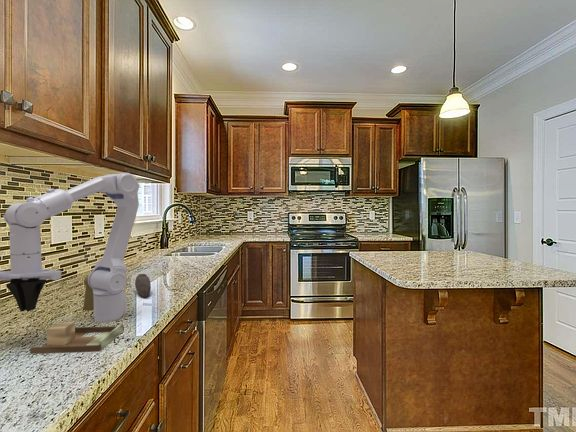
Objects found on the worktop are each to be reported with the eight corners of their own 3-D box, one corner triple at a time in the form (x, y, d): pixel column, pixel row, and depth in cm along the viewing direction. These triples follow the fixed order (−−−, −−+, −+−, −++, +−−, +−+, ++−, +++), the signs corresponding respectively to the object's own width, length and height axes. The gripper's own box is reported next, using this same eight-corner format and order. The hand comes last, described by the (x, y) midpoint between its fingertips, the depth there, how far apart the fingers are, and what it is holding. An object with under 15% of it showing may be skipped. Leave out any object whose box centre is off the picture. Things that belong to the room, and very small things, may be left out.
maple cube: (58, 338, 79) (57, 322, 79) (75, 338, 80) (74, 322, 80) (47, 345, 76) (46, 328, 75) (65, 345, 76) (64, 328, 76)
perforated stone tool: (152, 298, 119) (152, 279, 119) (137, 300, 117) (136, 281, 117) (149, 289, 132) (148, 272, 132) (134, 290, 130) (134, 273, 130)
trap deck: (64, 338, 83) (64, 324, 83) (124, 336, 84) (123, 323, 84) (30, 360, 72) (29, 344, 71) (100, 357, 72) (99, 342, 72)
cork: (107, 304, 112) (106, 273, 111) (97, 310, 106) (97, 277, 105) (89, 304, 111) (89, 273, 111) (79, 310, 105) (78, 277, 105)
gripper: (-22, 256, 72) (-19, 316, 72) (46, 255, 73) (48, 314, 73) (4, 251, 79) (6, 306, 80) (65, 251, 80) (67, 305, 80)
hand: (27, 310), depth 77 cm, fingers closed
